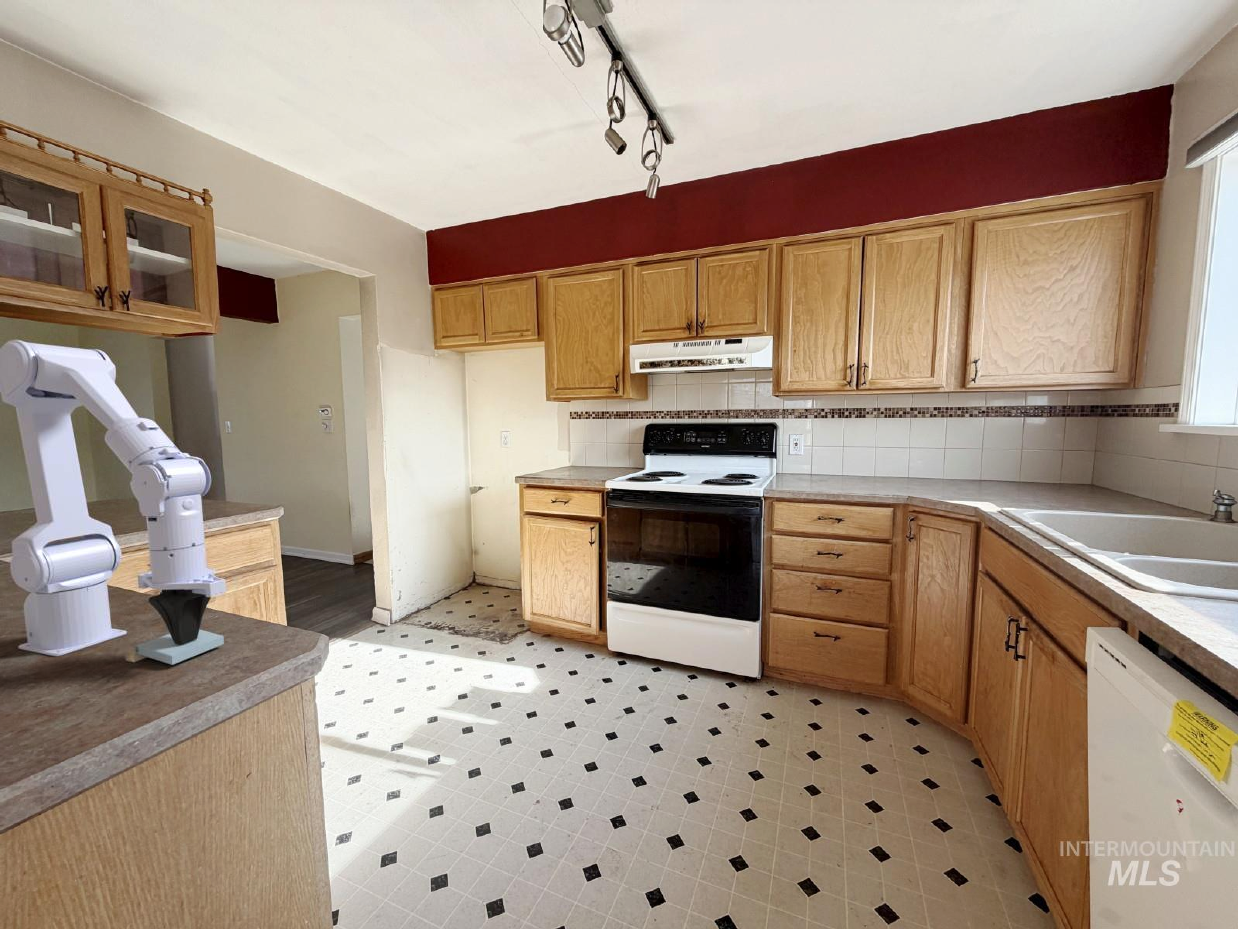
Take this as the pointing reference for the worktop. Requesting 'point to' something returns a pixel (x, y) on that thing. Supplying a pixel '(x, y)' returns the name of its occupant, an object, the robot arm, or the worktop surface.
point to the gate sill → (133, 656)
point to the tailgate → (178, 647)
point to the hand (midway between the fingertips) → (186, 641)
